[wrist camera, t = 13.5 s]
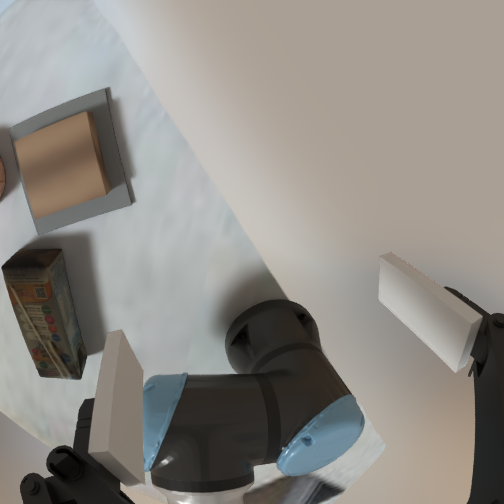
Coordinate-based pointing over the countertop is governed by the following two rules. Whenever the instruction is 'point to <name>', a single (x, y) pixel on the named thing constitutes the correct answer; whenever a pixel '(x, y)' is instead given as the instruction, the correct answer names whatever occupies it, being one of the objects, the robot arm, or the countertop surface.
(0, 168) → the pot
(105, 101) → the mat
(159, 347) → the countertop surface
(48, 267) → the beverage carton
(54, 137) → the lid
